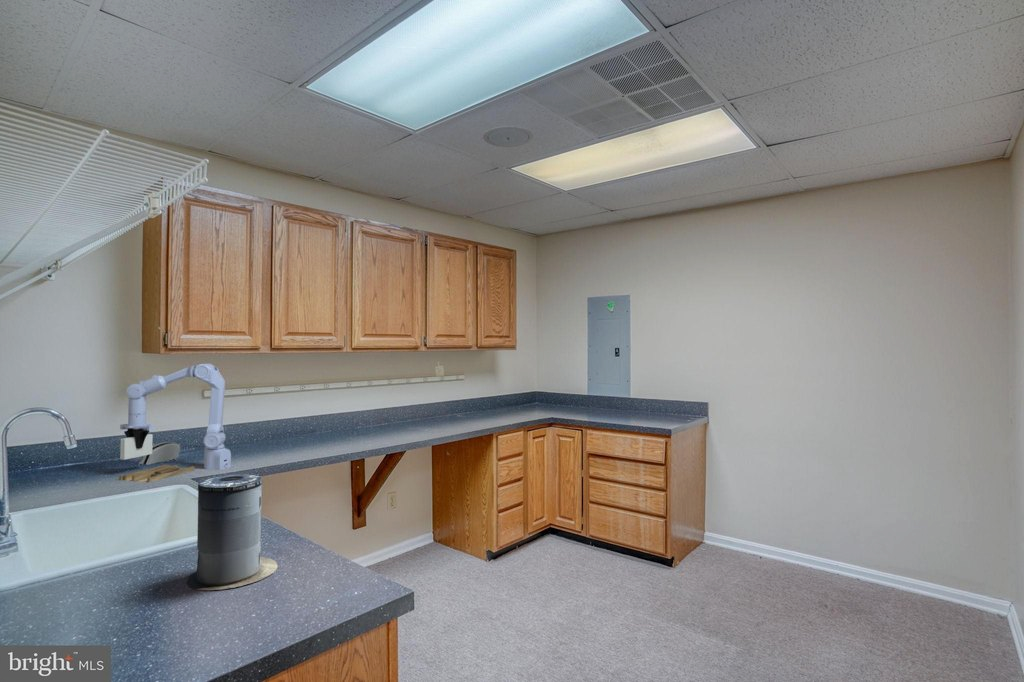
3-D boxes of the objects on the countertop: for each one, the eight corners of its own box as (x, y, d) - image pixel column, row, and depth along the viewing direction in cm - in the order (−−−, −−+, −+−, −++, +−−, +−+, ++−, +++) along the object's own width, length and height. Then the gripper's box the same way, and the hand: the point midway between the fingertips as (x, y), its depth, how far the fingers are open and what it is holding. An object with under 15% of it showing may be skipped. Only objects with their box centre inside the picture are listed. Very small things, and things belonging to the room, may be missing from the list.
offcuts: (180, 472, 207) (180, 467, 207) (158, 478, 197) (158, 473, 197) (172, 472, 208) (172, 467, 208) (149, 478, 198) (149, 472, 198)
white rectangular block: (152, 453, 214) (152, 434, 214) (124, 459, 202) (124, 439, 202) (148, 453, 214) (148, 434, 215) (120, 459, 203) (120, 438, 203)
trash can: (286, 554, 125) (285, 466, 125) (263, 587, 108) (262, 485, 108) (210, 560, 122) (209, 470, 123) (174, 595, 105) (173, 490, 105)
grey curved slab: (168, 458, 239) (175, 437, 239) (176, 462, 238) (183, 441, 238) (136, 466, 223) (144, 444, 222) (146, 470, 222) (153, 448, 222)
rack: (194, 472, 211) (194, 465, 211) (149, 484, 192) (149, 477, 192) (166, 470, 214) (166, 464, 215) (119, 482, 195) (119, 475, 195)
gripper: (113, 414, 206) (112, 449, 206) (142, 415, 203) (142, 450, 203) (129, 412, 213) (129, 445, 213) (158, 413, 210) (158, 447, 210)
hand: (136, 448), depth 208 cm, fingers closed on white rectangular block, 2 cm apart
